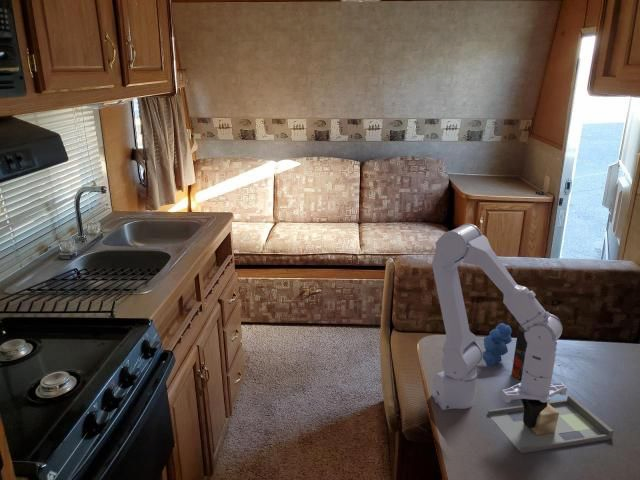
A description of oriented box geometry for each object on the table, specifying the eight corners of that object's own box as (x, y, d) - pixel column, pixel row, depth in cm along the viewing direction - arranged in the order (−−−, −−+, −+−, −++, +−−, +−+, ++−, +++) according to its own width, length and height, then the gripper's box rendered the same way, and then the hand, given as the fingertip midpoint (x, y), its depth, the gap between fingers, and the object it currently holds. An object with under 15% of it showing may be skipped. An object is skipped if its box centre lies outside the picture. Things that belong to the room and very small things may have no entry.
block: (537, 434, 105) (541, 414, 104) (524, 421, 109) (528, 402, 108) (554, 432, 106) (559, 412, 105) (541, 419, 111) (545, 400, 109)
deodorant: (537, 388, 125) (546, 336, 120) (512, 385, 126) (520, 333, 122) (532, 375, 130) (540, 325, 126) (509, 373, 132) (516, 323, 127)
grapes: (493, 350, 143) (498, 313, 139) (514, 360, 138) (519, 322, 134) (469, 363, 136) (473, 324, 132) (490, 374, 131) (495, 334, 127)
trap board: (520, 459, 101) (522, 445, 100) (486, 419, 113) (488, 406, 112) (610, 444, 105) (613, 430, 104) (568, 407, 117) (571, 395, 116)
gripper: (518, 385, 98) (509, 441, 102) (580, 377, 101) (570, 432, 105) (498, 366, 104) (491, 420, 108) (557, 359, 107) (548, 412, 111)
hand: (528, 424), depth 107 cm, fingers closed, pressing on block
